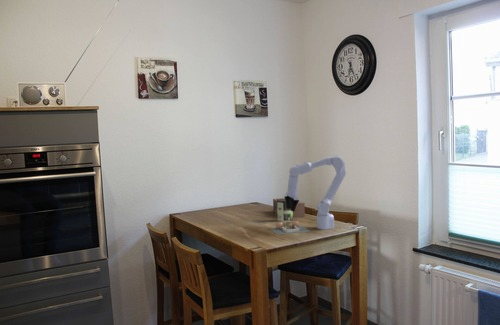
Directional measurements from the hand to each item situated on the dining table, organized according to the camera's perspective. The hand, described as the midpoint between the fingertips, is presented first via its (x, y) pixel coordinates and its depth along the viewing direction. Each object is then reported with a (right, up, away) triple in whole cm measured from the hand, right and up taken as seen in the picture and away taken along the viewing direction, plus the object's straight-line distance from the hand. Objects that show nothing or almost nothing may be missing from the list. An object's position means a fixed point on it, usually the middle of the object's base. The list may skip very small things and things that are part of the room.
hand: (290, 209), depth 230 cm
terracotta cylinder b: (-7, -11, -1) cm, 13 cm away
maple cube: (-2, -11, 0) cm, 11 cm away
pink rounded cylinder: (+3, -11, +1) cm, 11 cm away
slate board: (-1, -12, -4) cm, 13 cm away
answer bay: (0, -11, -6) cm, 13 cm away
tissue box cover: (+3, -9, +46) cm, 47 cm away
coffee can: (-1, -11, +25) cm, 27 cm away
